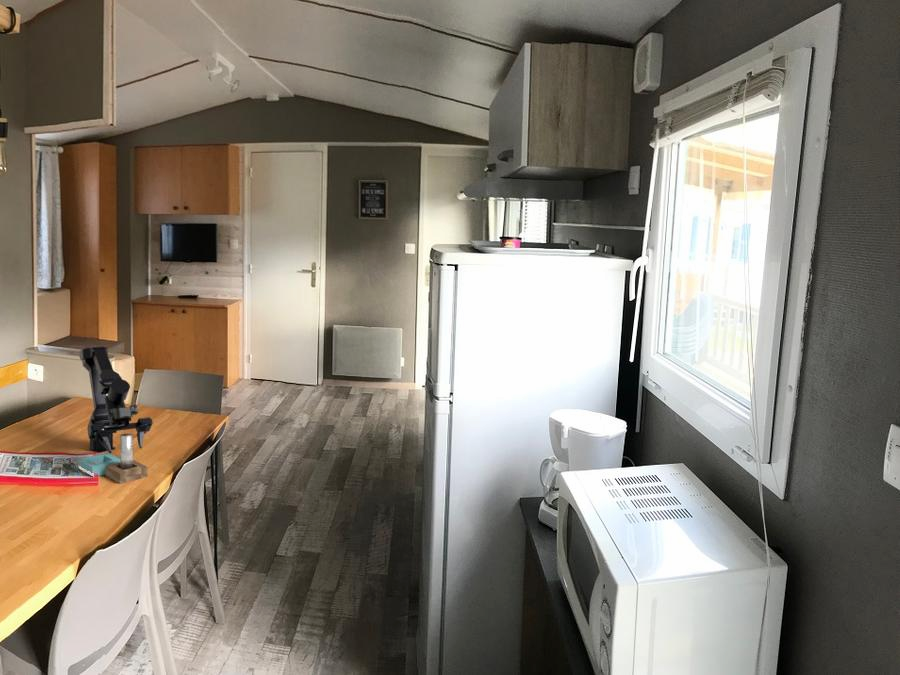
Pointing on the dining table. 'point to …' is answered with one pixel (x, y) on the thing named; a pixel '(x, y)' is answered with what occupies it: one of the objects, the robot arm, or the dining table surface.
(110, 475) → the brown square socket block
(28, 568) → the dining table surface
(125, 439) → the steel rod
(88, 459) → the seat block
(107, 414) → the robot arm
